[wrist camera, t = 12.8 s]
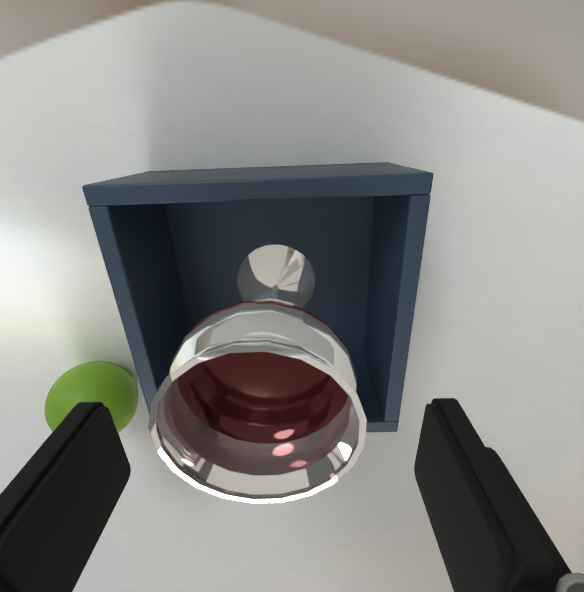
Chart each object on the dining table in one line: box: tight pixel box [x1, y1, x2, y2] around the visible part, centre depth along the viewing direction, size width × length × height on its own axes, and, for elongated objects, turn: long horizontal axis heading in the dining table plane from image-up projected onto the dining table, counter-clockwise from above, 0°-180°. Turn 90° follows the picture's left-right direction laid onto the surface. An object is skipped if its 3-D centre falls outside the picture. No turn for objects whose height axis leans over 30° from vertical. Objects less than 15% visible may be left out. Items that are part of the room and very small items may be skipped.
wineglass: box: [148, 245, 367, 503], centre depth 15 cm, size 7×7×12 cm
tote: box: [82, 162, 433, 432], centre depth 18 cm, size 14×14×7 cm
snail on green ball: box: [45, 361, 138, 433], centre depth 20 cm, size 5×6×12 cm
